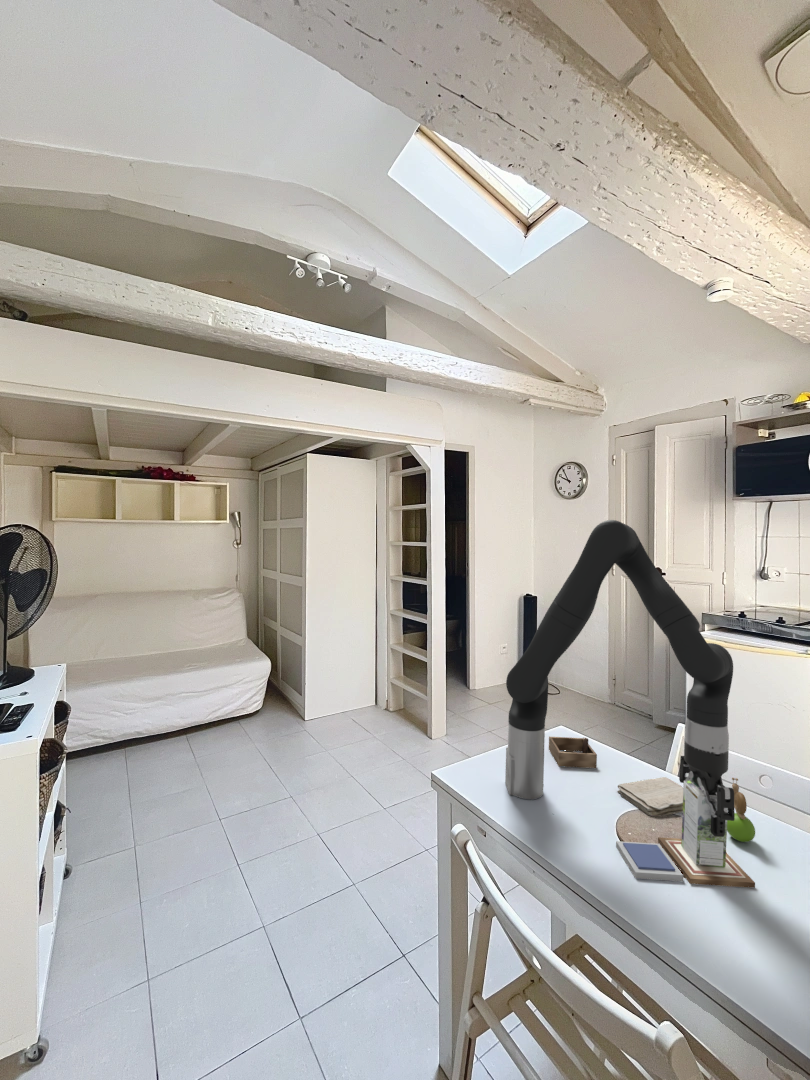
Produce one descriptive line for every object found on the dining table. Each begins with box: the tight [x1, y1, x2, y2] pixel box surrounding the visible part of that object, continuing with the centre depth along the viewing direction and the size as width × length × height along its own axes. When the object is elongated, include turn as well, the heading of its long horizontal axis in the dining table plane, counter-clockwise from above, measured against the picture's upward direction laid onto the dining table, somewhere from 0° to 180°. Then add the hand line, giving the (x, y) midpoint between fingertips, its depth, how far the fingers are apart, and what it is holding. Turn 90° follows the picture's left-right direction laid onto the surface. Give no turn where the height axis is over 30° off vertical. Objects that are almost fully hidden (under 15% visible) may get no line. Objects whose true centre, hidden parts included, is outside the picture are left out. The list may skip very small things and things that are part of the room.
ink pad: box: [615, 840, 684, 882], centre depth 91 cm, size 9×9×2 cm
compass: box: [562, 737, 589, 753], centre depth 134 cm, size 8×8×7 cm
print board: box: [657, 836, 756, 889], centre depth 91 cm, size 12×12×1 cm
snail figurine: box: [727, 777, 756, 843], centre depth 100 cm, size 5×6×12 cm
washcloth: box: [616, 776, 683, 817], centre depth 115 cm, size 12×18×3 cm, turn 109°
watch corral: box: [548, 736, 598, 769], centre depth 135 cm, size 11×11×4 cm
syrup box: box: [681, 780, 728, 867], centre depth 92 cm, size 6×6×14 cm
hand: (704, 821), depth 91 cm, fingers open, 8 cm apart
